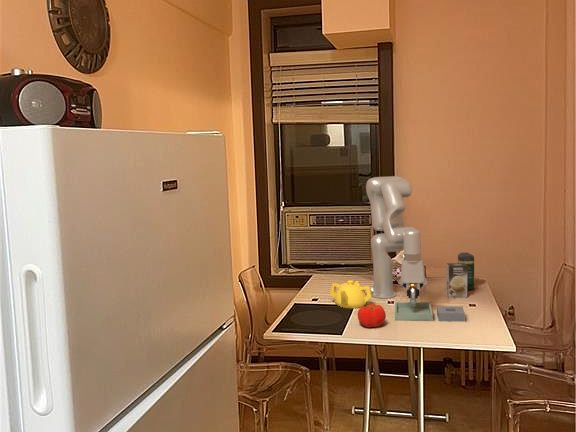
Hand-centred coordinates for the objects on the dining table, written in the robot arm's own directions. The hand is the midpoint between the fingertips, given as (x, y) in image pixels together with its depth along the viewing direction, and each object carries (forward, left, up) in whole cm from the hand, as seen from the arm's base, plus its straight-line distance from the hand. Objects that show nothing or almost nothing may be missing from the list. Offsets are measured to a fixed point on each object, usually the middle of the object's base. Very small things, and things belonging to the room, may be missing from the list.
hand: (413, 297), depth 271 cm
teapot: (-29, +15, -8) cm, 34 cm away
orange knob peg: (0, 0, -4) cm, 4 cm away
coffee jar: (+28, +49, -8) cm, 57 cm away
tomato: (-18, -17, -8) cm, 26 cm away
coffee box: (+22, +33, -8) cm, 41 cm away
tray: (0, 0, -8) cm, 8 cm away
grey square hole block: (+16, -4, -8) cm, 18 cm away
